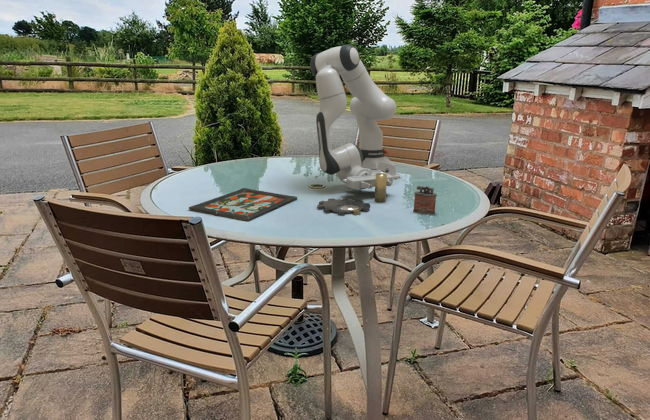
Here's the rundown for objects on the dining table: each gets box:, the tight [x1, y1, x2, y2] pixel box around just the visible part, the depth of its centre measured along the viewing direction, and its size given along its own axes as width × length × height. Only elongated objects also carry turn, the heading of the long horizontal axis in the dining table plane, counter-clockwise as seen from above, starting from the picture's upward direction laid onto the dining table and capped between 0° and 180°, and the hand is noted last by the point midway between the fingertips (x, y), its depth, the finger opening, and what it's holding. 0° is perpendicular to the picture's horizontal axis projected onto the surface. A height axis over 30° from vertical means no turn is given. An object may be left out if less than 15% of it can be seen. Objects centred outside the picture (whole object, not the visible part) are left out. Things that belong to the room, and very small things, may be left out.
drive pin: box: [374, 173, 387, 204], centre depth 192 cm, size 4×4×11 cm
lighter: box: [412, 185, 437, 215], centre depth 178 cm, size 8×3×10 cm, turn 71°
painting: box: [188, 187, 298, 222], centre depth 186 cm, size 28×35×2 cm
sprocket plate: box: [316, 197, 371, 217], centre depth 184 cm, size 20×20×1 cm
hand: (380, 185), depth 192 cm, fingers open, 8 cm apart
